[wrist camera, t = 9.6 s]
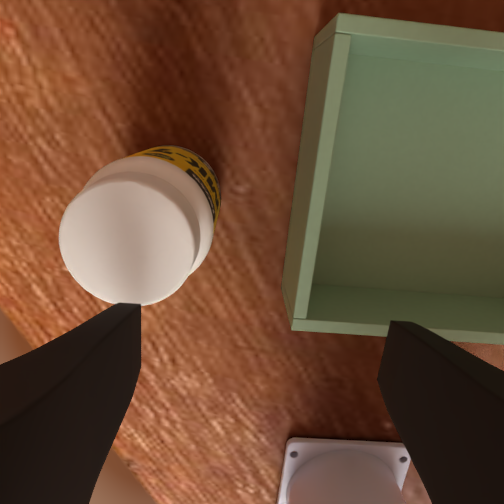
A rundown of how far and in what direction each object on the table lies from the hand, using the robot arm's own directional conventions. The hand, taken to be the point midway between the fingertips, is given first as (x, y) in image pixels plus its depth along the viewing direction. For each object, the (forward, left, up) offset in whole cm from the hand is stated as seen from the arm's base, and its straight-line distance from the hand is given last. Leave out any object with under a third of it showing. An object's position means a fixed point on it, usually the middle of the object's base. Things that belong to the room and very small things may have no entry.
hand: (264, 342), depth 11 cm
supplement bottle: (+2, +4, -10) cm, 11 cm away
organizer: (+4, -9, -10) cm, 14 cm away
